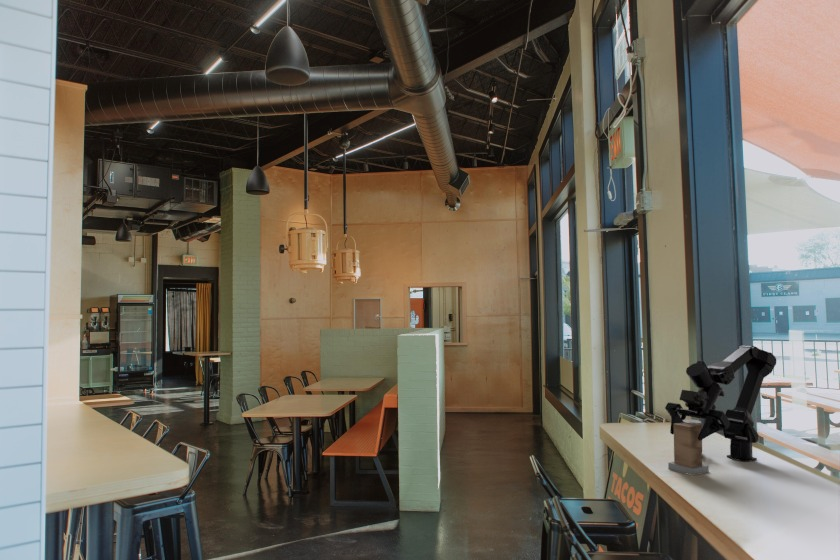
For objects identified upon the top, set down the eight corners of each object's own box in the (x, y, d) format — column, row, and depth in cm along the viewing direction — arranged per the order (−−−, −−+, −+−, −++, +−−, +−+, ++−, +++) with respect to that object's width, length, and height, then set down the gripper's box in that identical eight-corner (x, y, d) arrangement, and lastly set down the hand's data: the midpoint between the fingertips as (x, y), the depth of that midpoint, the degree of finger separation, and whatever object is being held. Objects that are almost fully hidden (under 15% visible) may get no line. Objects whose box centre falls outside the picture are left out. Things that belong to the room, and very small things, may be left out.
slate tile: (684, 467, 172) (684, 459, 172) (708, 473, 165) (708, 465, 166) (668, 470, 168) (668, 462, 169) (692, 477, 161) (692, 469, 162)
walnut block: (685, 460, 171) (684, 422, 172) (702, 465, 166) (701, 425, 167) (674, 463, 168) (673, 423, 169) (690, 467, 163) (689, 427, 164)
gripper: (667, 377, 179) (646, 414, 173) (723, 384, 162) (701, 425, 156) (683, 399, 182) (662, 436, 176) (739, 408, 166) (718, 449, 160)
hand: (684, 436), depth 167 cm, fingers open, 9 cm apart
